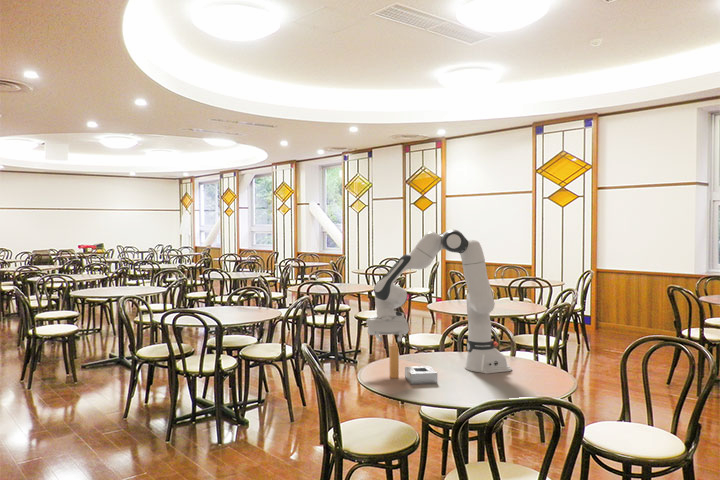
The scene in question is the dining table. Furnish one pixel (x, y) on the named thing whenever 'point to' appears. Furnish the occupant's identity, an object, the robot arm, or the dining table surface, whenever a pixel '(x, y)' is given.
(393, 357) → the rectangular peg
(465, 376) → the dining table surface
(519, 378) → the dining table surface
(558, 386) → the dining table surface
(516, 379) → the dining table surface
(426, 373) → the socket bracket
